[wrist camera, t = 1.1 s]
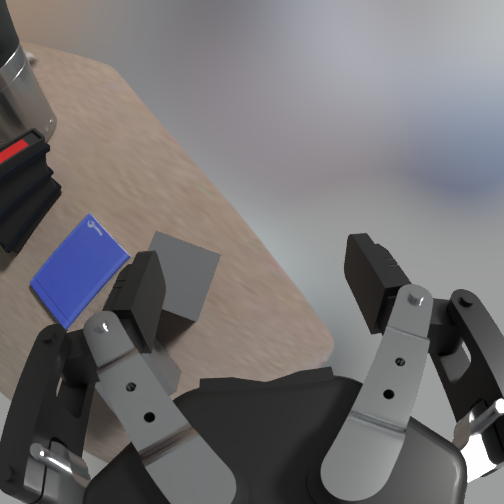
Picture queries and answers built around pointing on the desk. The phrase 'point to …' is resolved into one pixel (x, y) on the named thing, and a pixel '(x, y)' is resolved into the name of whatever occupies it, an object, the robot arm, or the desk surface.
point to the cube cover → (155, 371)
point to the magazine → (24, 188)
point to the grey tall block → (184, 274)
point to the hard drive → (79, 270)
